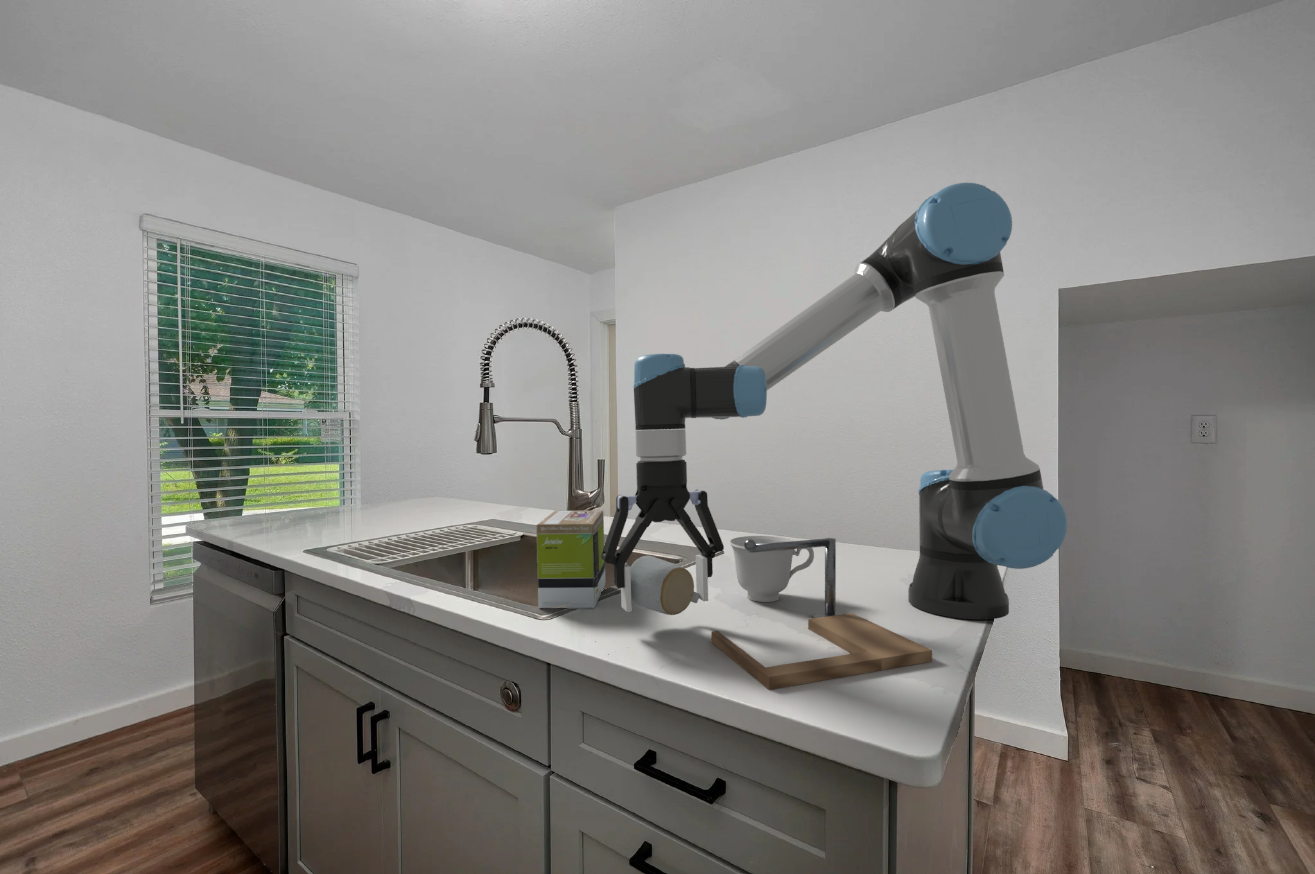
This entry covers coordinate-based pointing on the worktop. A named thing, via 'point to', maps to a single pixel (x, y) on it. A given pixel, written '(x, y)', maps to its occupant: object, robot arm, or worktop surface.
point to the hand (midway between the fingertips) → (665, 603)
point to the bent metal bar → (829, 564)
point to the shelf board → (849, 632)
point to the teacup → (765, 568)
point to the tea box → (570, 559)
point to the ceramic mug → (661, 586)
